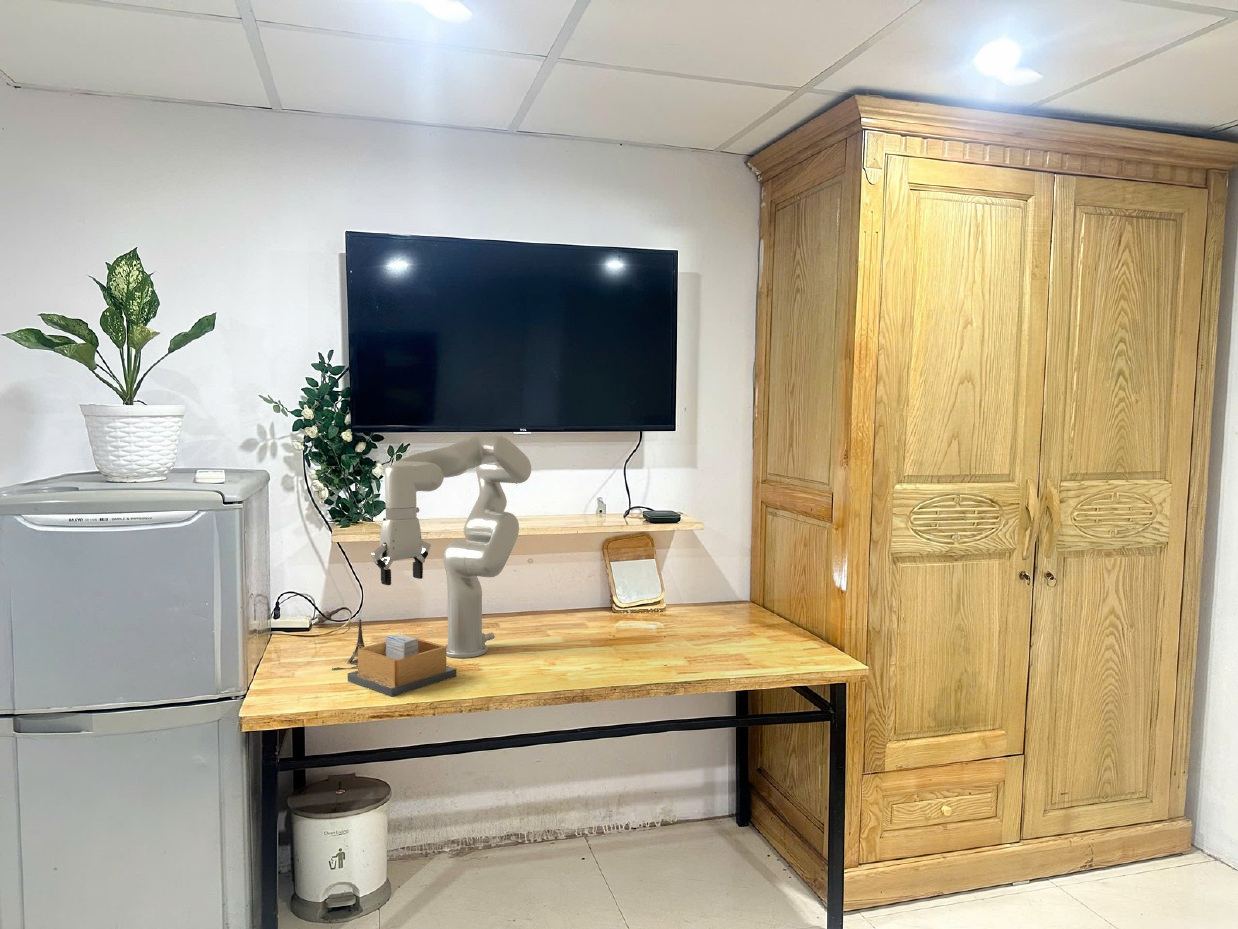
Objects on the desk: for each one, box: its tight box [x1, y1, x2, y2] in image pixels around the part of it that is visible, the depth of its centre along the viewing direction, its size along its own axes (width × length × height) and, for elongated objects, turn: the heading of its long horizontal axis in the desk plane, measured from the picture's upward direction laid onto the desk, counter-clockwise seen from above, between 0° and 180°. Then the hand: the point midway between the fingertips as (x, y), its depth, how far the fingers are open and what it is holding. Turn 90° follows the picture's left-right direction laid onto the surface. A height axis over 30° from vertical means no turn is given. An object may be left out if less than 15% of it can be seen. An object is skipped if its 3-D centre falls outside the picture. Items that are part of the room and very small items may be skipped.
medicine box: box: [385, 633, 419, 659], centre depth 217 cm, size 8×4×9 cm, turn 51°
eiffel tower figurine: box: [331, 618, 366, 671], centre depth 231 cm, size 15×10×13 cm
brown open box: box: [347, 635, 457, 698], centre depth 218 cm, size 20×18×8 cm
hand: (402, 581), depth 217 cm, fingers open, 9 cm apart
